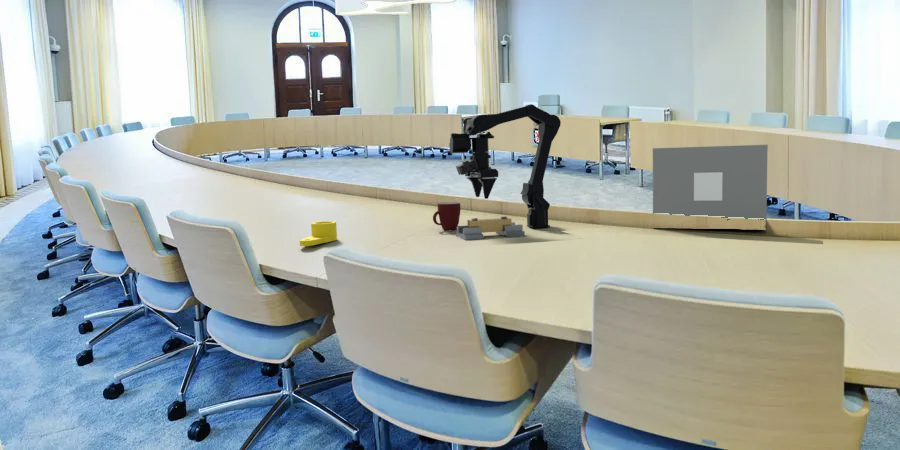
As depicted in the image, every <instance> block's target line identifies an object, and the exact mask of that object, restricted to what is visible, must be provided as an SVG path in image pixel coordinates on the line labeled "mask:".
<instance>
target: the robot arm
mask: <svg viewBox="0 0 900 450" xmlns="http://www.w3.org/2000/svg"><path fill="white" fill-rule="evenodd" d="M523 118H529V119H530V120H531V121H532V122H533V123H535V124H536V125H538V127H537V128H538V130H537V132H538V133H537V134H538V143H537V147H536V148H537V149H536V151H535V156H534V157H535V158H534V161H533V165H532V170H531V173H530V178H529V180H528V182H523V183H522V189H521V192H520V195H521V200H522V201H523V203H524V204H526V206H527V209H528V213H526V223H527V224H526V226H527V227H530V228H532V229H534V228H535V229H536V228H537V229H538V228H550V227H551V225H550V224H549V209H550V205H551V204H550V202H548V201H547V199H545V198H544V192H545V190H544V177H545V174H546V173H545V172H546V169H547V164H548V160H549V157H550V152H551V148H552V144H553V141H554V139H555V138H556V136H557V135H558V132H559V129H560V127H561V123H562V122H561V119H560V118H559V117H558V116H557V115H556V114H550V113H548V112H547V111H545V110H543V109H542V108H541V109H540V108H539V107H537V106H536V105H534V104H526V105H524V106H521V107H518V108H514V109H510V110H506V111H502V112H499V113H492V114H491V113H487V114H480V115H474V116H473V117H471V118H470V120H469V126H468V127H467V129H466V131H465V132H464V133H455V132H454V133H450V139H449V143H448V144H449V145H448V147H449V153H450V154H468V153H469V151H470V150H471V155H470V156H469V160H465V161H462V163H460V164H457V165H455V167H456V171H457V173H458V176H465V177H466V179H468V180H469V181H470V182H471V184H472V188H473V191H474V194H475V197H476V198H479V197H480V195H481V193H482V190H483V196H484V198H483V199H484V200H485V199H487V200H488V199H489V197H490V194H491V192H492V189H493V187H494V185H495V183H496V180H498V179H497V178H499V170H498V169H497V168H492V167H491V166H490V159H491V157H492V156H491V154H489V151H490V150H489V148H490V147H489V139H494V138H495V135H493V134H492V133H491V132H490V131H489V130H491V129H493V128H495V127H496V126H498V125H502V124H505V123H508V122H513V121H516V120H520V119H523ZM485 132H486V133H485ZM470 136H476V137H470Z"/></svg>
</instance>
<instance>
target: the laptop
mask: <svg viewBox="0 0 900 450" xmlns="http://www.w3.org/2000/svg"><path fill="white" fill-rule="evenodd" d="M768 147H769V146H768V144H746V145H745V144H744V145H742V144H741V145H716V146H715V145H712V146H708V145H707V146H681V147H680V146H679V147H653V148H652V215H653V214H654V213H669V214H670V215H672V214H684V215H685V216H690V215H708V216H725V217H721V218H728V217H744V218H745V219H748V218H764V219H766V220H767V210H768V209H767V208H768V207H767V204H768V203H767V202H768V201H767V200H768ZM764 219H760V220H764ZM728 220H730V219H727V221H728ZM758 220H759V219H758Z"/></svg>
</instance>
